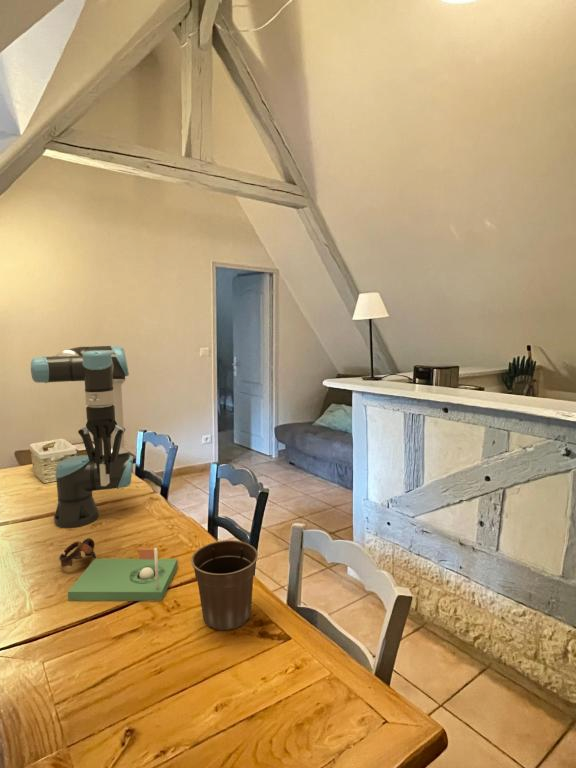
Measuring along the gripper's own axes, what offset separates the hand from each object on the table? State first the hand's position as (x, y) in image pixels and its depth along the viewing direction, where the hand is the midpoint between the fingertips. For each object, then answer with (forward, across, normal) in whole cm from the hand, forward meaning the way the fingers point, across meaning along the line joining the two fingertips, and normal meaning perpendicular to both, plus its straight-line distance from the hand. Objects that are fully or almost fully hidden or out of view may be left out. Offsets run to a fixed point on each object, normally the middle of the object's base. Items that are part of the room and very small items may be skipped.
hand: (105, 484), depth 134 cm
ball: (+24, +13, -7) cm, 29 cm away
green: (+26, +8, -8) cm, 28 cm away
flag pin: (+26, +17, -15) cm, 34 cm away
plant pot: (+27, +38, -22) cm, 51 cm away
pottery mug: (+27, -10, +3) cm, 28 cm away
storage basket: (+27, -60, +83) cm, 106 cm away
